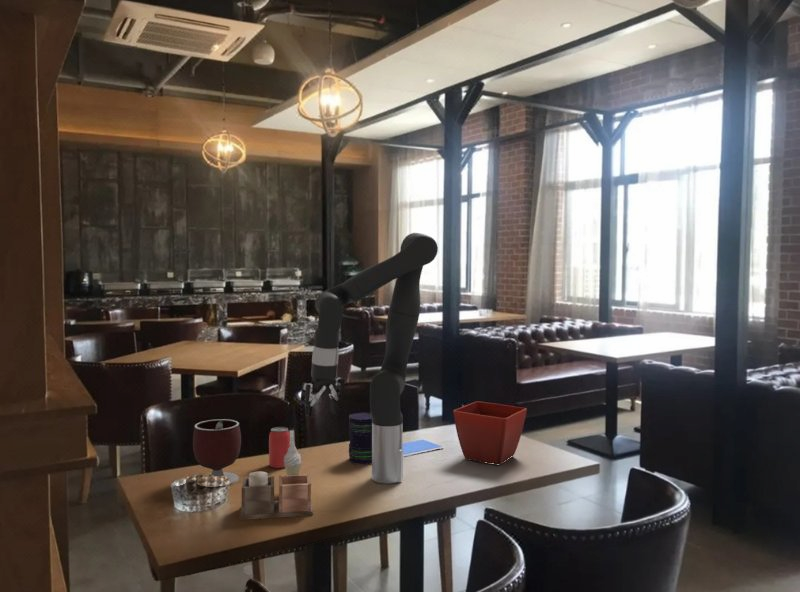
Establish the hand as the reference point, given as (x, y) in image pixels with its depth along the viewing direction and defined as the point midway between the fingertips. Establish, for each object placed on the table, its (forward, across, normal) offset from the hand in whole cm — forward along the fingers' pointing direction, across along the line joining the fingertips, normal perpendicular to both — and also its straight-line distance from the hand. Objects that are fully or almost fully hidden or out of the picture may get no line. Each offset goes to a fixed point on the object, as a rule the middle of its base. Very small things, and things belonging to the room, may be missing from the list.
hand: (321, 415), depth 190 cm
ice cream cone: (+21, -10, -1) cm, 23 cm away
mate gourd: (+24, -20, +21) cm, 38 cm away
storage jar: (+22, +25, +6) cm, 34 cm away
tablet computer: (+23, +46, +4) cm, 52 cm away
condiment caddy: (+20, -21, -10) cm, 31 cm away
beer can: (+24, +2, +21) cm, 32 cm away
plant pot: (+19, +57, -22) cm, 64 cm away
